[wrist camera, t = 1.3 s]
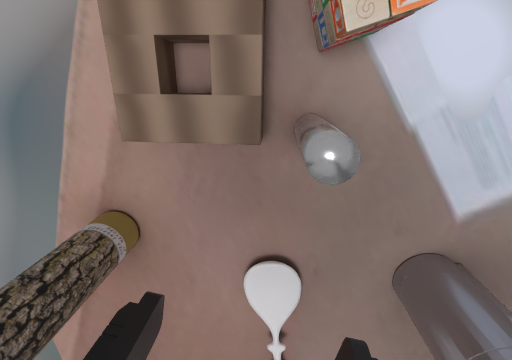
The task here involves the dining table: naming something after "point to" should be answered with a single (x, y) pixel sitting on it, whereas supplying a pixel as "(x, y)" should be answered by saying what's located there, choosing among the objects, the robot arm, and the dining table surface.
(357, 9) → the stack of blocks
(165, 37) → the hole block
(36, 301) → the paper tube
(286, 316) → the spoon
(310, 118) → the long pin
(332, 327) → the dining table surface
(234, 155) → the dining table surface
